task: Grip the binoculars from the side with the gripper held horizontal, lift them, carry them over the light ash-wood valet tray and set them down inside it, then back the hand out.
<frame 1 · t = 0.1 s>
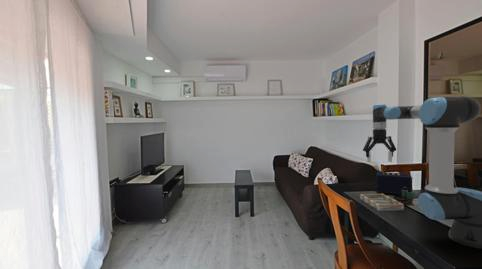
hand: (379, 162, 160), 28 cm above the table, tool pointing down, fingers open, 13 cm apart
speaker: (393, 193, 184), on the table
valet tray: (380, 204, 162), on the table
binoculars: (403, 204, 162), on the table
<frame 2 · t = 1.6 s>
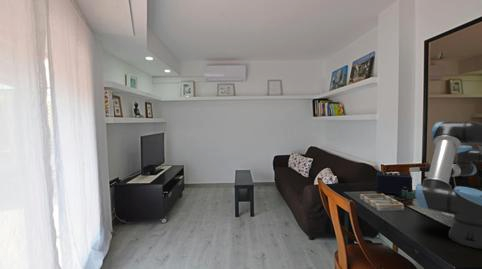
hand: (417, 172, 161), 20 cm above the table, tool horizontal, fingers open, 13 cm apart
nothing on the table moved.
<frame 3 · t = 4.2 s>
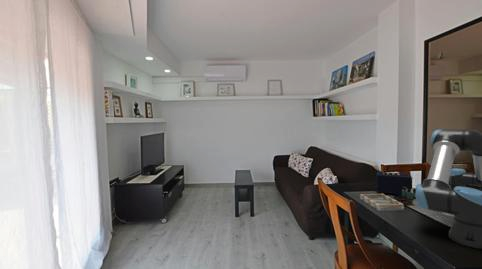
hand: (409, 194, 163), 6 cm above the table, tool horizontal, fingers open, 13 cm apart
nothing on the table moved.
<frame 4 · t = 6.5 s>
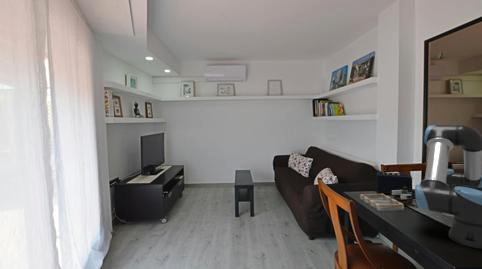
hand: (396, 194, 162), 6 cm above the table, tool horizontal, fingers closed on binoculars, 8 cm apart
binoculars: (403, 203, 162), on the table, touching gripper
everything else where it was.
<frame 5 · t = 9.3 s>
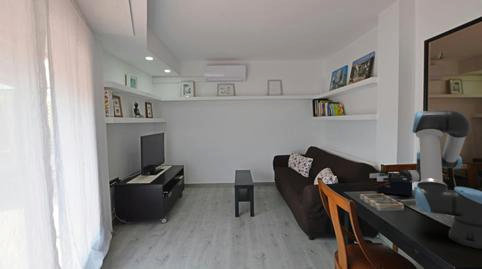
hand: (373, 177, 161), 18 cm above the table, tool horizontal, fingers closed on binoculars, 8 cm apart
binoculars: (380, 186, 162), point 12 cm above the table, touching gripper
everything else where it was.
when the fingers open (9 cm above the table, at t = 11.8 s): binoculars drops 2 cm, resting on valet tray.
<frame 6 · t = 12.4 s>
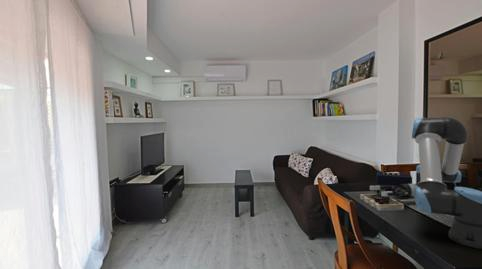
hand: (375, 190, 162), 9 cm above the table, tool horizontal, fingers open, 13 cm apart
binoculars: (380, 203, 162), point 1 cm above the table, touching valet tray
everything else where it was.
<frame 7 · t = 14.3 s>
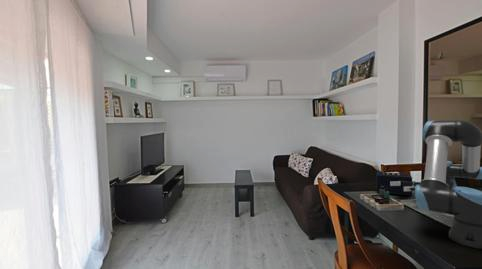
hand: (397, 186, 162), 11 cm above the table, tool horizontal, fingers open, 13 cm apart
nothing on the table moved.
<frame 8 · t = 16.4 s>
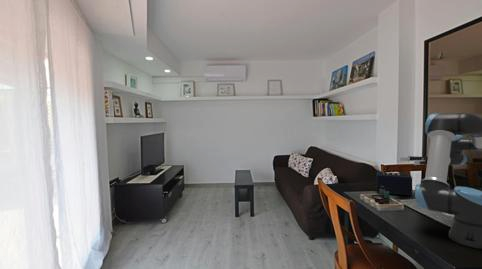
hand: (406, 160, 161), 28 cm above the table, tool horizontal, fingers open, 13 cm apart
nothing on the table moved.
at the end: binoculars inside the target area on the valet tray (0.2 cm from its centre), point 0.8 cm above the valet tray's base; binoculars tilted 0°; the gripper is holding nothing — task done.
